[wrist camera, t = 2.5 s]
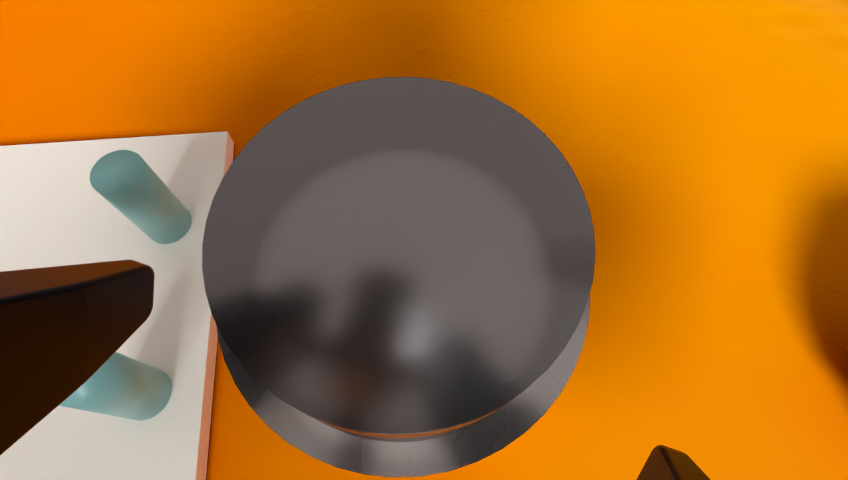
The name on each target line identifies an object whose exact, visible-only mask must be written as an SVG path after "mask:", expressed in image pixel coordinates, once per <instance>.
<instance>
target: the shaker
mask: <svg viewBox="0 0 848 480" xmlns="http://www.w3.org/2000/svg"><path fill="white" fill-rule="evenodd" d="M594 263H595V243H594V230H593V225H592V220H591V215H590V210H589V207H588V204H587V201H586V198H585V195H584V193H583V190H582V187H581V185H580V183H579V181H578V179H577V178H576V176H575V174H574V172H573V170H572V168H571V166H570V165H569V164H568V162H567V161H566V159H565V158H564V156H563V155H562V153H561V152H560V150H559V149H558V148H557V147H556V146H555V145H554V144H553V143H552V141H551V140H550V139H549V138H548V137H547V136H546V135H545V134H544V133H543V132H542V131H541V130H540V129H539V128H538V127H536V126H535V125H534V124H533V123H532V122H531V121H530V120H529V119H527V118H526V117H524V116H523V115H521V114H520V113H518V112H517V111H516V110H514V109H513V108H511V107H510V106H508V105H506V104H504V103H502V102H500V101H499V100H497V99H495V98H493V97H491V96H489V95H486V94H484V93H481V92H479V91H476V90H474V89H471V88H468V87H464V86H461V85H458V84H454V83H451V82H445V81H440V80H434V79H428V78H415V77H385V78H377V79H369V80H362V81H358V82H354V83H349V84H345V85H341V86H338V87H335V88H332V89H330V90H327V91H324V92H321V93H319V94H317V95H314V96H312V97H310V98H308V99H306V100H304V101H301V102H300V103H298V104H296V105H295V106H293V107H291V108H290V109H288V110H286V111H285V112H283V113H282V114H280V115H279V116H278V117H276V118H275V119H274V120H273V121H271V122H270V123H269V124H267V125H266V126H265V127H264V128H263V129H262V130H260V131H259V132H258V133H257V134H256V135H255V136H254V137H253V138H252V139H251V140H250V141H249V142H248V143H247V145H246V146H245V147H244V148H243V149H242V151H241V152H240V153H239V154H238V156H237V157H236V158H235V159H234V161H233V162H232V164H231V165H230V167H229V169H228V170H227V172H226V173H225V175H224V177H223V178H222V180H221V182H220V185H219V187H218V189H217V191H216V193H215V195H214V198H213V200H212V203H211V207H210V210H209V213H208V216H207V220H206V224H205V231H204V237H203V243H202V271H203V279H204V286H205V293H206V296H207V299H208V303H209V306H210V310H211V313H212V316H213V318H214V320H215V323H216V327H217V334H218V339H219V343H220V346H221V350H222V353H223V356H224V360H225V363H226V365H227V367H228V369H229V371H230V373H231V375H232V378H233V380H234V382H235V384H236V386H237V387H238V389H239V390H240V392H241V393H242V395H243V396H244V398H245V399H246V401H247V402H248V404H249V405H250V407H251V408H252V409H253V410H254V411H255V412H256V413H257V414H258V416H259V417H260V418H261V419H262V420H263V421H264V422H265V423H266V424H267V426H269V427H270V428H271V429H272V430H274V431H275V432H276V433H277V434H278V435H280V436H281V437H282V438H283V439H284V440H286V441H287V442H288V443H290V444H291V445H293V446H295V447H296V448H298V449H300V450H301V451H303V452H305V453H306V454H308V455H310V456H311V457H314V458H316V459H318V460H321V461H323V462H326V463H328V464H330V465H333V466H335V467H338V468H342V469H346V470H350V471H354V472H357V473H361V474H366V475H375V476H385V477H413V476H426V475H431V474H436V473H441V472H447V471H451V470H454V469H457V468H460V467H463V466H466V465H469V464H472V463H475V462H478V461H479V460H481V459H483V458H485V457H487V456H489V455H491V454H493V453H495V452H497V451H499V450H501V449H503V448H504V447H505V446H507V445H508V444H510V443H511V442H513V441H514V440H515V439H517V438H518V437H520V436H521V435H522V434H524V433H525V432H526V431H527V430H528V429H529V428H530V427H531V426H532V425H533V424H534V423H536V422H537V421H538V420H539V419H540V418H541V417H542V416H543V415H544V414H545V413H546V411H547V410H548V409H549V407H550V406H551V405H552V404H553V402H554V401H555V400H556V398H557V397H558V396H559V395H560V393H561V392H562V390H563V388H564V386H565V385H566V383H567V381H568V379H569V378H570V376H571V374H572V372H573V370H574V368H575V365H576V363H577V360H578V358H579V355H580V353H581V350H582V347H583V343H584V339H585V335H586V330H587V326H588V318H589V307H590V289H591V285H592V281H593V274H594Z"/></svg>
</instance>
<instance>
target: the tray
mask: <svg viewBox="0 0 848 480" xmlns="http://www.w3.org/2000/svg"><path fill="white" fill-rule="evenodd" d="M233 152H234V142H233V140H232V138H231V137H230V135H229V133H228V131H225V132H210V133H194V134H179V135H163V136H148V137H133V138H117V139H102V140H86V141H71V142H55V143H40V144H25V145H9V146H0V272H2V271H13V270H23V269H34V268H44V267H55V266H65V265H76V264H86V263H97V262H107V261H118V260H134V261H137V262H140V263H143V264H146V265H149V266H150V267H151V268H152V269H153V271H154V298H153V308H152V312H151V314H150V316H149V317H148V319H147V320H146V321H145V322H144V323H143V324H142V325H141V326H140V327H139V328H138V329H137V330H136V331H135V332H134V333H133V334H132V335H131V336H130V337H129V338H128V340H127V341H126V342H125V343H124V344H123V345H122V346H121V347H120V348H119V349H118V350H117V351H116V352H115V353H114V354H113V355H112V356H111V357H110V358H109V359H108V360H107V361H106V362H105V363H104V364H103V365H102V366H101V367H100V368H99V369H98V370H97V371H96V372H95V373H94V374H93V375H92V376H91V377H90V378H89V379H88V380H87V381H86V382H85V383H84V384H83V385H82V386H81V387H80V388H78V389H77V390H76V391H75V392H74V393H73V394H72V395H70V396H69V397H68V398H67V399H66V400H65V401H63V402H62V403H61V404H60V405H59V406H58V407H56V408H55V409H54V410H53V411H52V412H51V413H49V414H48V415H47V416H46V417H45V418H44V419H42V420H41V421H40V422H39V423H38V424H37V425H35V426H34V427H33V428H32V429H31V430H30V431H28V432H27V433H26V434H25V435H24V436H22V437H21V438H20V439H19V440H18V441H17V442H15V443H14V444H13V445H12V446H11V447H10V448H8V449H7V450H6V451H5V452H4V453H3V454H1V455H0V480H206V472H207V460H208V448H209V436H210V424H211V412H212V400H213V389H214V377H215V365H216V353H217V341H218V334H217V327H216V323H215V320H214V318H213V316H212V313H211V310H210V306H209V303H208V299H207V296H206V293H205V286H204V279H203V271H202V243H203V237H204V231H205V224H206V220H207V216H208V213H209V210H210V207H211V203H212V200H213V198H214V195H215V193H216V191H217V189H218V187H219V185H220V182H221V180H222V178H223V177H224V175H225V173H226V172H227V170H228V169H229V167H230V165H231V164H232V162H233Z"/></svg>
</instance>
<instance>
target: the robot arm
mask: <svg viewBox="0 0 848 480" xmlns="http://www.w3.org/2000/svg"><path fill="white" fill-rule="evenodd" d="M153 298H154V271H153V269H152V268H151V267H150V266H149V265H146V264H143V263H140V262H137V261H134V260H118V261H107V262H97V263H86V264H76V265H65V266H55V267H44V268H34V269H23V270H13V271H2V272H0V455H1V454H3V453H4V452H5V451H6V450H7V449H8V448H10V447H11V446H12V445H13V444H14V443H15V442H17V441H18V440H19V439H20V438H21V437H22V436H24V435H25V434H26V433H27V432H28V431H30V430H31V429H32V428H33V427H34V426H35V425H37V424H38V423H39V422H40V421H41V420H42V419H44V418H45V417H46V416H47V415H48V414H49V413H51V412H52V411H53V410H54V409H55V408H56V407H58V406H59V405H60V404H61V403H62V402H63V401H65V400H66V399H67V398H68V397H69V396H70V395H72V394H73V393H74V392H75V391H76V390H77V389H78V388H80V387H81V386H82V385H83V384H84V383H85V382H86V381H87V380H88V379H89V378H90V377H91V376H92V375H93V374H94V373H95V372H96V371H97V370H98V369H99V368H100V367H101V366H102V365H103V364H104V363H105V362H106V361H107V360H108V359H109V358H110V357H111V356H112V355H113V354H114V353H115V352H116V351H117V350H118V349H119V348H120V347H121V346H122V345H123V344H124V343H125V342H126V341H127V340H128V338H129V337H130V336H131V335H132V334H133V333H134V332H135V331H136V330H137V329H138V328H139V327H140V326H141V325H142V324H143V323H144V322H145V321H146V320H147V319H148V317H149V316H150V314H151V312H152V308H153ZM637 480H710V479H709V478H708V477H707V476H706V474H705V473H704V472H703V471H702V470H701V469H700V468H699V467H698V466H697V465H696V464H695V463H694V462H693V461H692V460H691V459H690V457H689V456H688V455H687V454H685V453H683V452H681V451H678V450H675V449H672V448H669V447H667V446H664V445H658V446H656V447H655V448H654V449H653V450H652V452H651V454H650V456H649V457H648V459H647V461H646V463H645V465H644V467H643V469H642V470H641V472H640V474H639V476H638V478H637Z"/></svg>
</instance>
